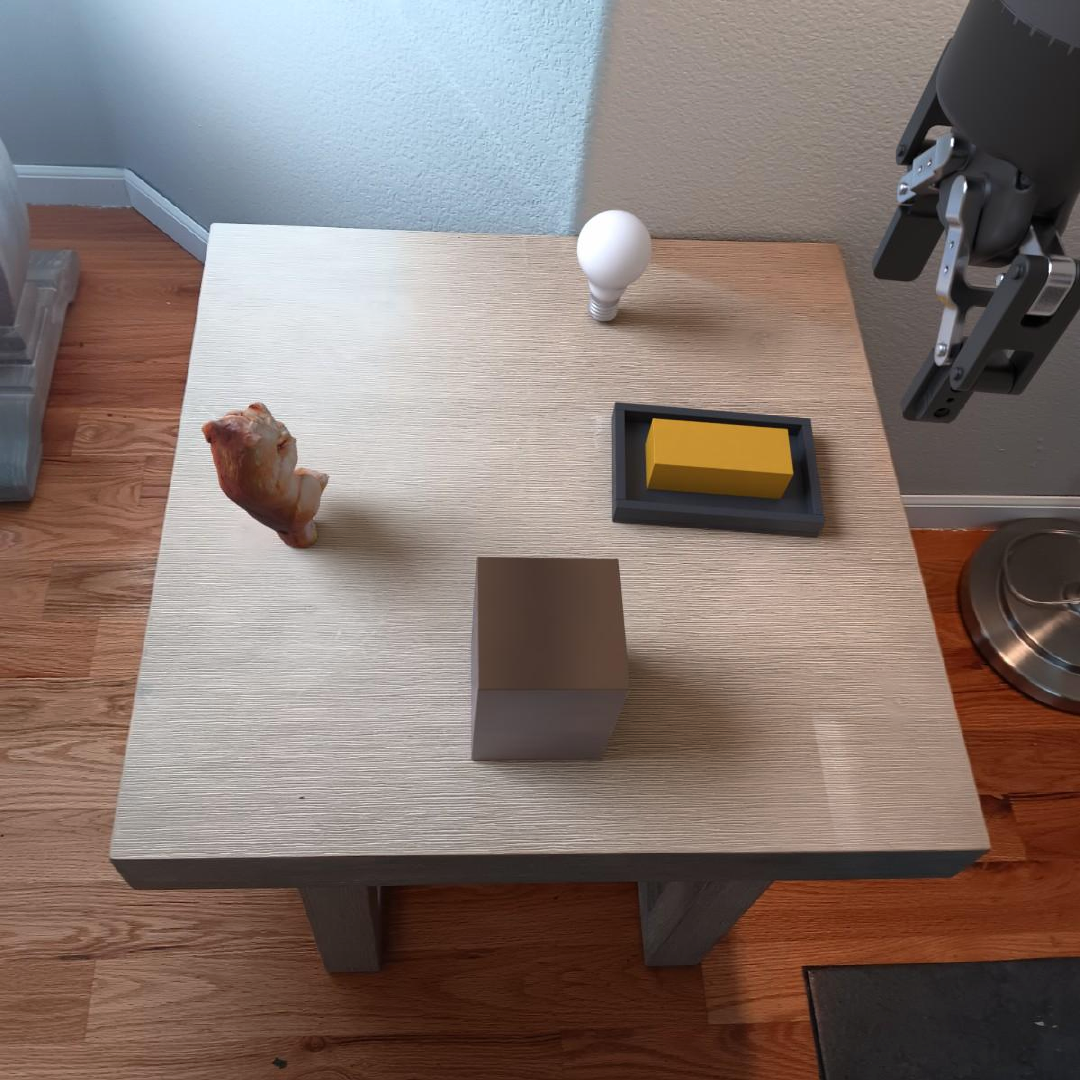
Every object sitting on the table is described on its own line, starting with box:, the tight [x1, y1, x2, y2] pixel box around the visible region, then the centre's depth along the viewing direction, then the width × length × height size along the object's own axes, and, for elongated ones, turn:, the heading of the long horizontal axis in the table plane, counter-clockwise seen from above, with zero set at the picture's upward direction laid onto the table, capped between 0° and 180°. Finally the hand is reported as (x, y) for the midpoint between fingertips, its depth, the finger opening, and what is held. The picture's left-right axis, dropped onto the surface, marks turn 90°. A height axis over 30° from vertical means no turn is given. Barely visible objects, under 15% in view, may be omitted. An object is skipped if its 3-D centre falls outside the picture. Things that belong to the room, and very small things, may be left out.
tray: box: [610, 401, 826, 538], centre depth 82 cm, size 11×17×2 cm, turn 88°
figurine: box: [200, 401, 330, 549], centre depth 70 cm, size 6×8×15 cm
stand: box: [470, 556, 631, 761], centre depth 66 cm, size 9×9×12 cm
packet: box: [645, 418, 793, 499], centre depth 81 cm, size 11×4×4 cm, turn 88°
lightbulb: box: [576, 209, 653, 322], centre depth 87 cm, size 6×6×11 cm
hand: (906, 341), depth 45 cm, fingers open, 8 cm apart
